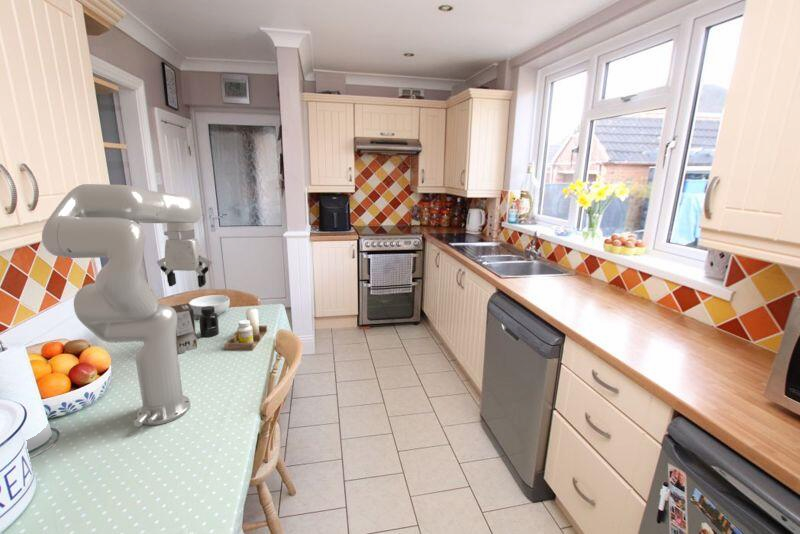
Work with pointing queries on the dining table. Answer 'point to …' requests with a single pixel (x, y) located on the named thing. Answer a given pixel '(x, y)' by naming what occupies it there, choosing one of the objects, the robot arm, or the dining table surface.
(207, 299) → the cereal bowl
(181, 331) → the coffee box
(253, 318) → the rod
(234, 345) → the rack
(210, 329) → the supplement bottle
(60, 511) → the dining table surface
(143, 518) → the dining table surface
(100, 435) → the dining table surface
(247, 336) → the supplement bottle
